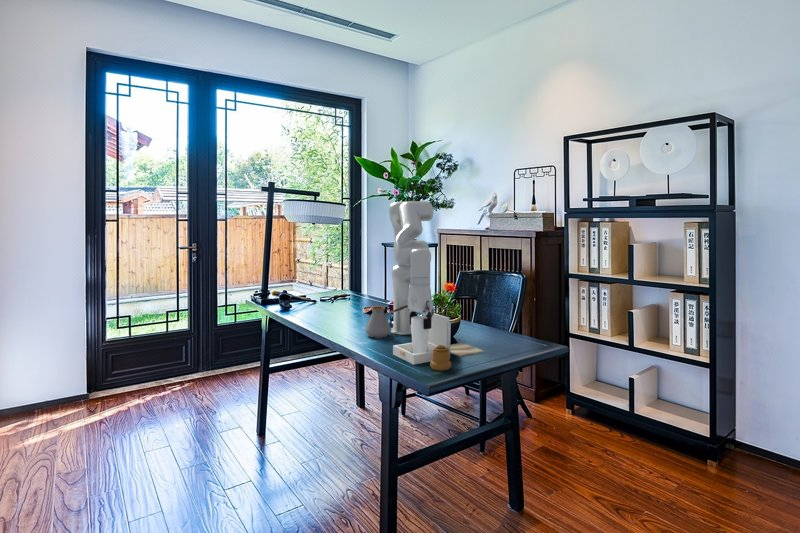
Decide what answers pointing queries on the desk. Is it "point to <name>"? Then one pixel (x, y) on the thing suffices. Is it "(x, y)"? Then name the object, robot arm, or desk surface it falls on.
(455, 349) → the wooden pad
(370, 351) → the desk surface
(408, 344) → the open case
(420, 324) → the drinking glass
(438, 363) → the ornamental finial
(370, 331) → the coffee pot
